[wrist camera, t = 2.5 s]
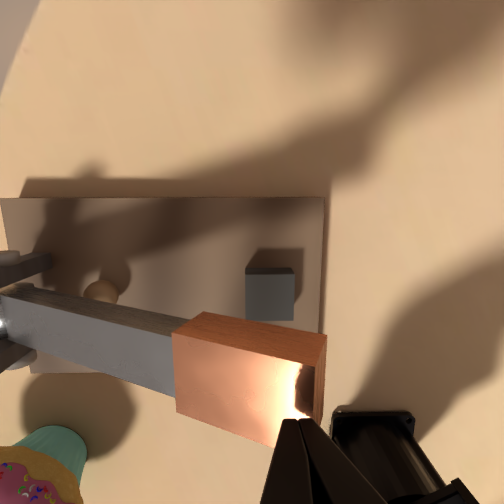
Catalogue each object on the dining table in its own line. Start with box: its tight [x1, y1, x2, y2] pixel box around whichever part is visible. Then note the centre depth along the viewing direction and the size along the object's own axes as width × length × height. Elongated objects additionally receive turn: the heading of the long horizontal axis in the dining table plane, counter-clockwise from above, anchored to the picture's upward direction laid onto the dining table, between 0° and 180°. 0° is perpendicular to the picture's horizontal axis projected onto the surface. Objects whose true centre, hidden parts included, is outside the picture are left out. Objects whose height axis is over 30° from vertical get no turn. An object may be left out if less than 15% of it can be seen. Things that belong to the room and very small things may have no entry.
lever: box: [0, 282, 327, 448], centre depth 13 cm, size 18×3×2 cm, turn 89°
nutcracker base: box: [0, 197, 325, 374], centre depth 17 cm, size 20×12×6 cm, turn 90°
